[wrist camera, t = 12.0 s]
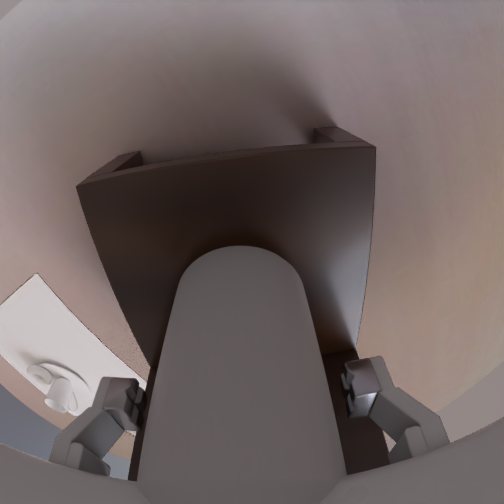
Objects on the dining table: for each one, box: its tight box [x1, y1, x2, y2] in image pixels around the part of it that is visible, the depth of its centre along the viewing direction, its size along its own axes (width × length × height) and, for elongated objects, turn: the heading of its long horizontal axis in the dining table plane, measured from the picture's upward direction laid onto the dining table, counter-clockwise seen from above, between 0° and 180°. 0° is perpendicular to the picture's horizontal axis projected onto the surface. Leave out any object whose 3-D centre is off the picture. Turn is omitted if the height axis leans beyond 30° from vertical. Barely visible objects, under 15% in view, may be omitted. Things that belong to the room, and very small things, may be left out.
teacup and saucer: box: [26, 362, 93, 413], centre depth 29 cm, size 9×8×4 cm
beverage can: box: [137, 246, 347, 504], centre depth 11 cm, size 6×6×12 cm
